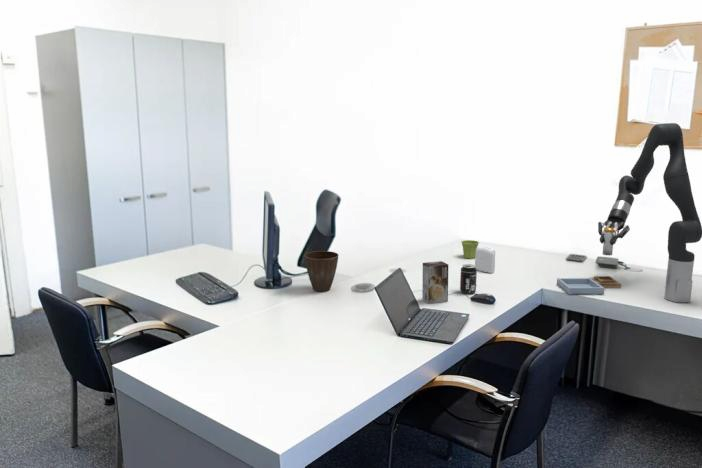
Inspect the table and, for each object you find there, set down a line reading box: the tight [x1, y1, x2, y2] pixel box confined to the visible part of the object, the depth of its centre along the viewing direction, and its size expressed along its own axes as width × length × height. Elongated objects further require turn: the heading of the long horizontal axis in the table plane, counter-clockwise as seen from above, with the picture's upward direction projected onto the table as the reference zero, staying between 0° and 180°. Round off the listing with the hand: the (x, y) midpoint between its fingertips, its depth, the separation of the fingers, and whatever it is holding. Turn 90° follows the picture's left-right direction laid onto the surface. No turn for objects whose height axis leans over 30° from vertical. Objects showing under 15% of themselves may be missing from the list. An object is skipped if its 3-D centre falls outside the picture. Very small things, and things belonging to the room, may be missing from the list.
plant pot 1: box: [304, 250, 339, 293], centre depth 254 cm, size 15×15×16 cm
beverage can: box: [459, 263, 478, 295], centre depth 249 cm, size 7×7×12 cm
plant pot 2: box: [460, 239, 480, 260], centre depth 309 cm, size 9×9×9 cm
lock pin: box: [602, 226, 615, 256], centre depth 256 cm, size 4×4×12 cm
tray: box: [556, 277, 606, 296], centre depth 253 cm, size 15×15×3 cm
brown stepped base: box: [588, 275, 622, 289], centre depth 260 cm, size 10×10×3 cm
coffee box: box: [421, 260, 449, 304], centre depth 238 cm, size 9×6×16 cm
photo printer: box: [474, 245, 496, 274], centre depth 282 cm, size 10×4×12 cm, turn 39°
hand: (606, 243), depth 255 cm, fingers closed on lock pin, 4 cm apart
